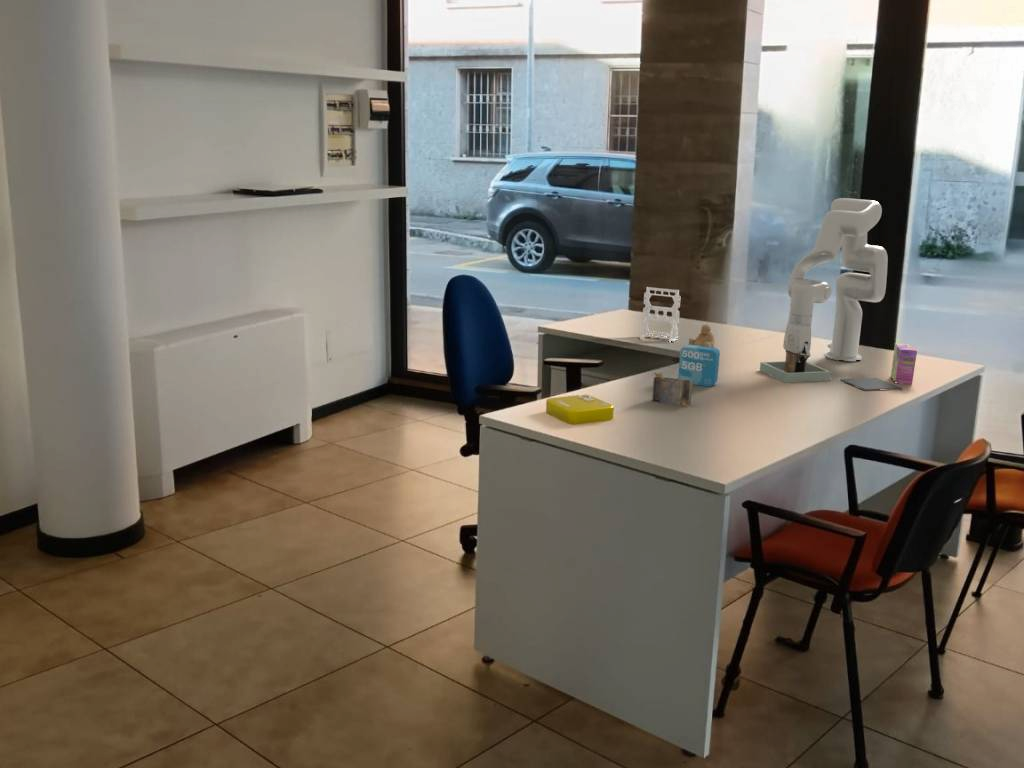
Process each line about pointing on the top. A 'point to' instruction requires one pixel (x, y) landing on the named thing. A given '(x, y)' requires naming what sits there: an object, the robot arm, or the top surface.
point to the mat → (870, 383)
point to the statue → (704, 338)
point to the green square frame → (810, 375)
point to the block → (791, 362)
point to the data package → (699, 365)
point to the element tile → (579, 409)
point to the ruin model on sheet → (672, 390)
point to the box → (903, 363)
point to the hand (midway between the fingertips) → (794, 371)
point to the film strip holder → (665, 309)
